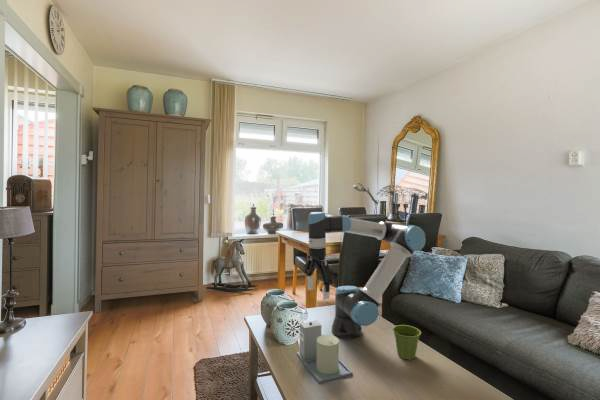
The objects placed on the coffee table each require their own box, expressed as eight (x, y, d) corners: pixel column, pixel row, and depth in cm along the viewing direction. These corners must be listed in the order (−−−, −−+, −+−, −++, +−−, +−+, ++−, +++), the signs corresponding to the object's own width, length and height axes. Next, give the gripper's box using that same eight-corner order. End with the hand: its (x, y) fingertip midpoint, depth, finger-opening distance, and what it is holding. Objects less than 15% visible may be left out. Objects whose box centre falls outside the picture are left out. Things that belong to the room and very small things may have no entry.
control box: (317, 349, 143) (317, 317, 142) (324, 357, 136) (324, 324, 136) (296, 354, 139) (296, 321, 138) (303, 362, 132) (303, 328, 132)
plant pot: (424, 355, 138) (425, 330, 138) (413, 366, 130) (414, 339, 129) (399, 346, 146) (400, 322, 146) (387, 355, 138) (387, 330, 137)
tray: (334, 356, 137) (334, 353, 137) (352, 375, 123) (352, 372, 123) (303, 363, 131) (303, 361, 131) (319, 383, 118) (319, 380, 117)
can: (323, 377, 121) (324, 346, 121) (311, 365, 129) (312, 336, 129) (343, 370, 125) (343, 341, 125) (330, 359, 133) (331, 331, 133)
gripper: (296, 243, 149) (297, 287, 150) (325, 253, 127) (326, 304, 128) (310, 241, 152) (311, 285, 153) (340, 250, 130) (341, 301, 131)
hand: (318, 294), depth 141 cm, fingers open, 13 cm apart
